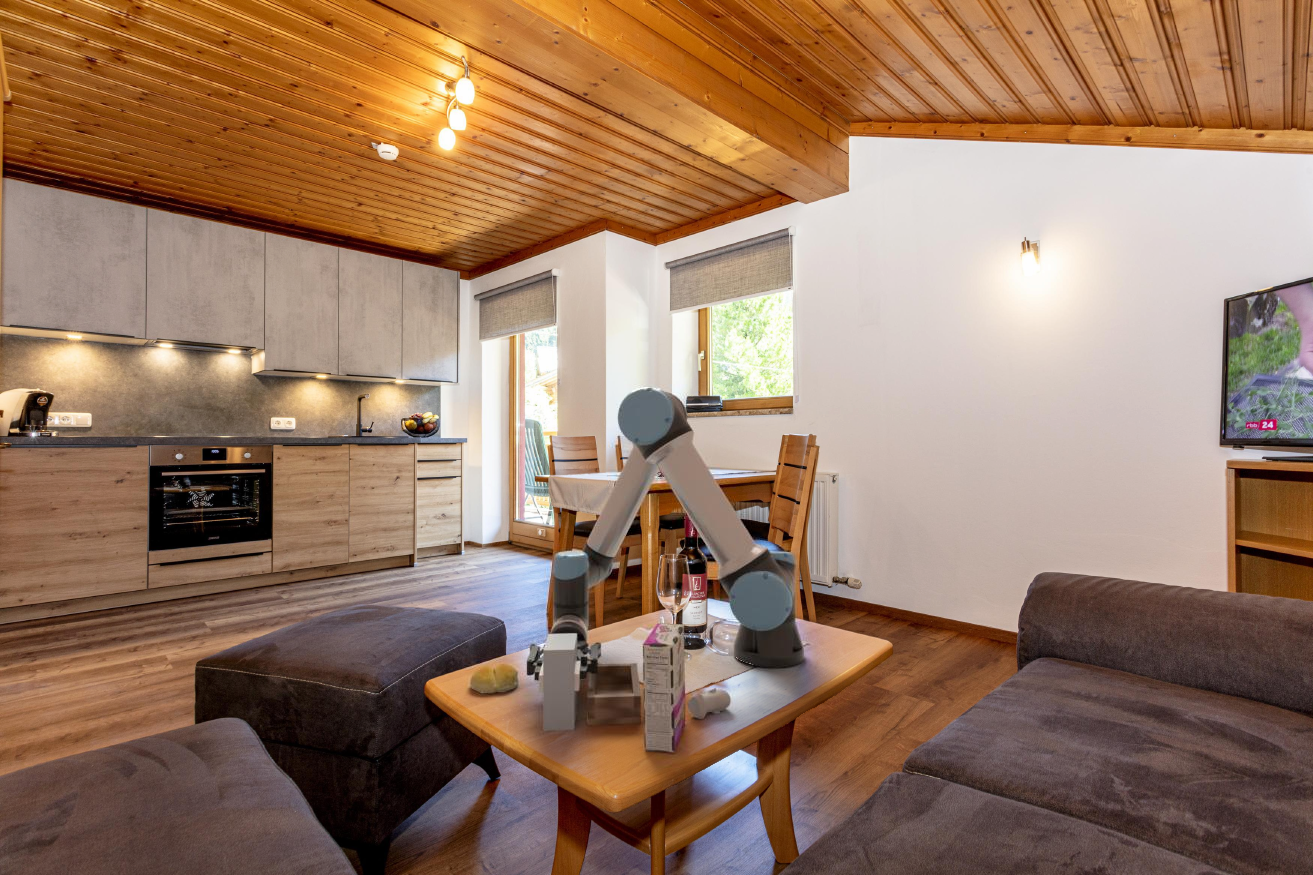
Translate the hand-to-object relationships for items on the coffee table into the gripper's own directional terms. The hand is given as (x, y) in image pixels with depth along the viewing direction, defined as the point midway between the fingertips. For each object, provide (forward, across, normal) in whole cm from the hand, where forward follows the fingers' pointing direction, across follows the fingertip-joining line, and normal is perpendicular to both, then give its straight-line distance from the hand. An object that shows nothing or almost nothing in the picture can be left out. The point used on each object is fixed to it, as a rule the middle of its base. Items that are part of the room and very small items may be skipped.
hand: (558, 682), depth 103 cm
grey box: (-4, 0, -8) cm, 9 cm away
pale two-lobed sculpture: (-5, -25, -8) cm, 27 cm away
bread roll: (-20, +14, -8) cm, 26 cm away
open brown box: (-9, -9, -8) cm, 15 cm away
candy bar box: (+4, -17, -8) cm, 19 cm away
